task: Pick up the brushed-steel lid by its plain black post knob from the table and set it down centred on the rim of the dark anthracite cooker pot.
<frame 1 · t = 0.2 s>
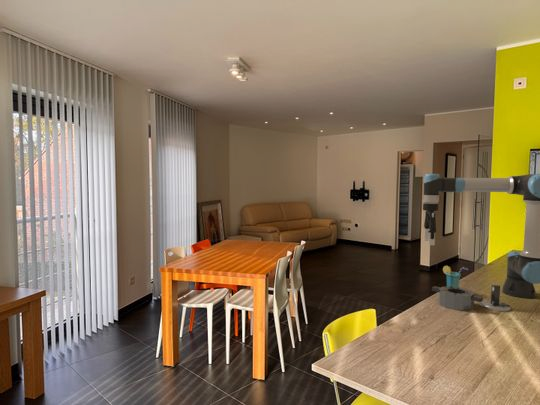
hand: (429, 242, 195), 28 cm above the table, fingers open, 13 cm apart
cup: (454, 293, 199), on the table
pot: (455, 304, 180), on the table
lid: (494, 307, 178), on the table
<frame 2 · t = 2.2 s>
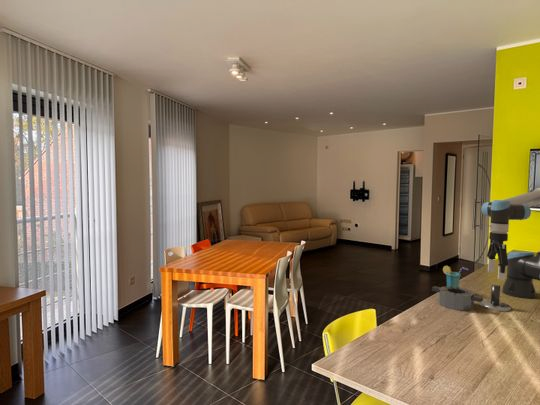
hand: (495, 275, 177), 15 cm above the table, fingers open, 13 cm apart
nothing on the table moved.
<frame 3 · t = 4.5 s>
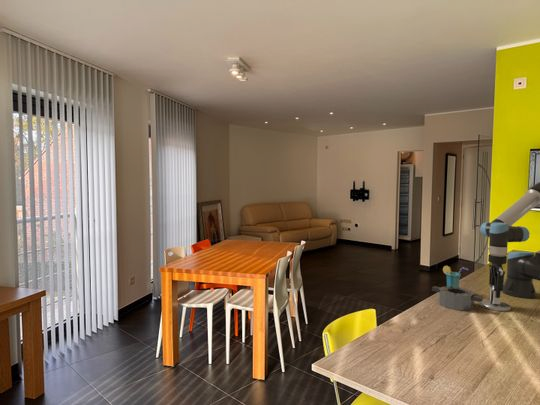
hand: (494, 302, 178), 2 cm above the table, fingers closed on lid, 4 cm apart
lid: (494, 306, 178), on the table, touching gripper
everything else where it was.
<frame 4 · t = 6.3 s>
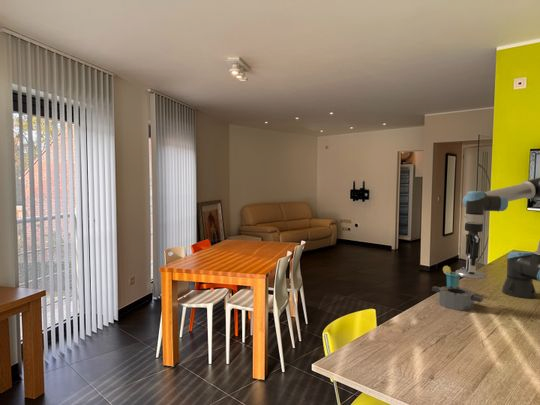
hand: (470, 270, 178), 17 cm above the table, fingers closed on lid, 4 cm apart
lid: (470, 275, 178), point 15 cm above the table, touching gripper
everything else where it was.
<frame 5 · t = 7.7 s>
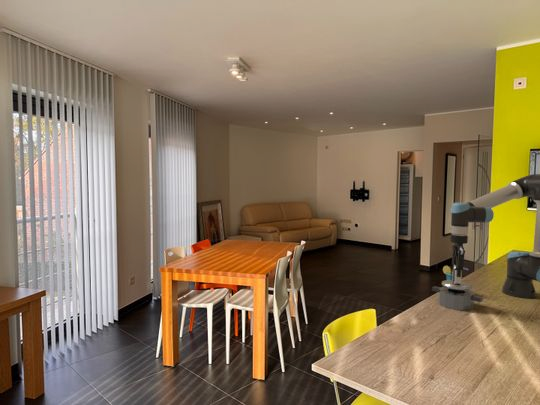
hand: (456, 281, 179), 12 cm above the table, fingers closed on lid, 4 cm apart
lid: (456, 286, 180), point 9 cm above the table, touching gripper
everything else where it was.
when the fingers open (10 cm above the table, at t = 8.6 s): lid stays where it is, resting on pot.
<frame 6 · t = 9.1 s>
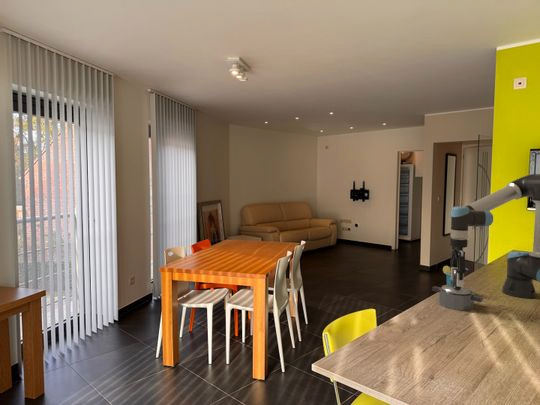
hand: (456, 283, 179), 11 cm above the table, fingers open, 10 cm apart
lid: (456, 290, 180), point 7 cm above the table, touching pot
everything else where it was.
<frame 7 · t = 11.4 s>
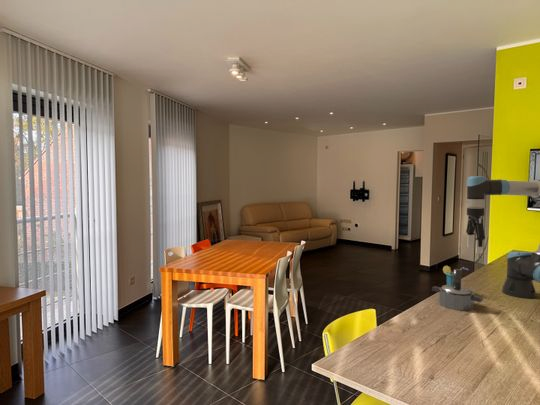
hand: (474, 250, 181), 27 cm above the table, fingers open, 13 cm apart
nothing on the table moved.
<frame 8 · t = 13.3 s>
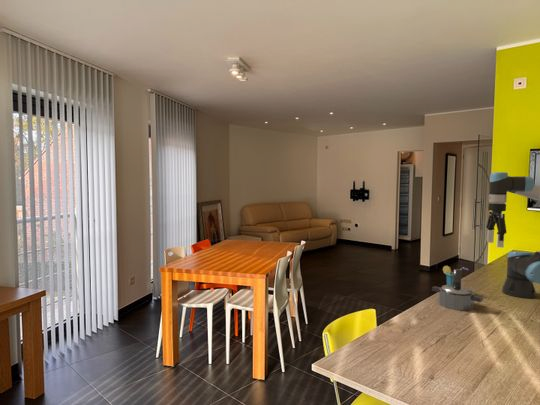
hand: (495, 244, 186), 29 cm above the table, fingers open, 13 cm apart
nothing on the table moved.
at the end: lid 0.0 cm off-centre on the pot, point 7.0 cm above the pot's base; lid tilted 0°; the gripper is holding nothing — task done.
